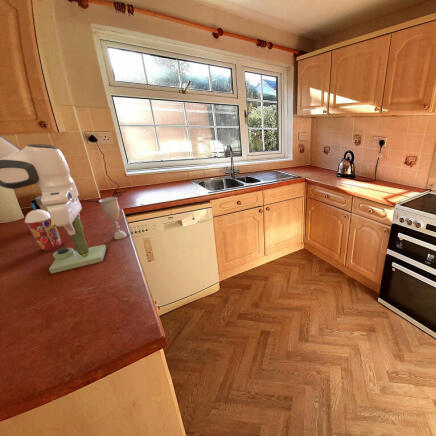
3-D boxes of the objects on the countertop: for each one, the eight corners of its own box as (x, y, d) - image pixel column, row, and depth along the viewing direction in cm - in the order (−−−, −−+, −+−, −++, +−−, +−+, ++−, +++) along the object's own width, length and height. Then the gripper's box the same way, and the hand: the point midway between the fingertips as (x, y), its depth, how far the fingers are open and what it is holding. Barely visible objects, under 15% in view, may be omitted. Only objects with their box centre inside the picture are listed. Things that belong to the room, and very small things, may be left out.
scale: (49, 274, 86) (45, 265, 84) (59, 258, 96) (55, 250, 94) (102, 261, 93) (99, 253, 91) (106, 247, 103) (103, 240, 101)
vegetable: (77, 256, 93) (56, 207, 85) (91, 251, 96) (72, 203, 88) (81, 259, 90) (60, 209, 83) (95, 254, 94) (76, 205, 86)
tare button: (57, 255, 92) (55, 251, 91) (59, 252, 94) (58, 248, 93) (67, 253, 93) (66, 249, 92) (69, 249, 95) (68, 246, 95)
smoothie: (69, 244, 106) (50, 201, 99) (45, 254, 99) (22, 208, 92) (59, 241, 109) (40, 199, 102) (35, 250, 103) (12, 205, 95)
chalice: (110, 236, 113) (98, 199, 106) (127, 231, 117) (116, 196, 110) (112, 241, 108) (99, 203, 101) (130, 236, 112) (118, 199, 105)
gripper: (57, 187, 91) (71, 221, 96) (38, 202, 74) (56, 242, 79) (78, 185, 94) (91, 218, 99) (65, 198, 77) (80, 237, 82)
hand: (75, 229), depth 89 cm, fingers open, 8 cm apart
